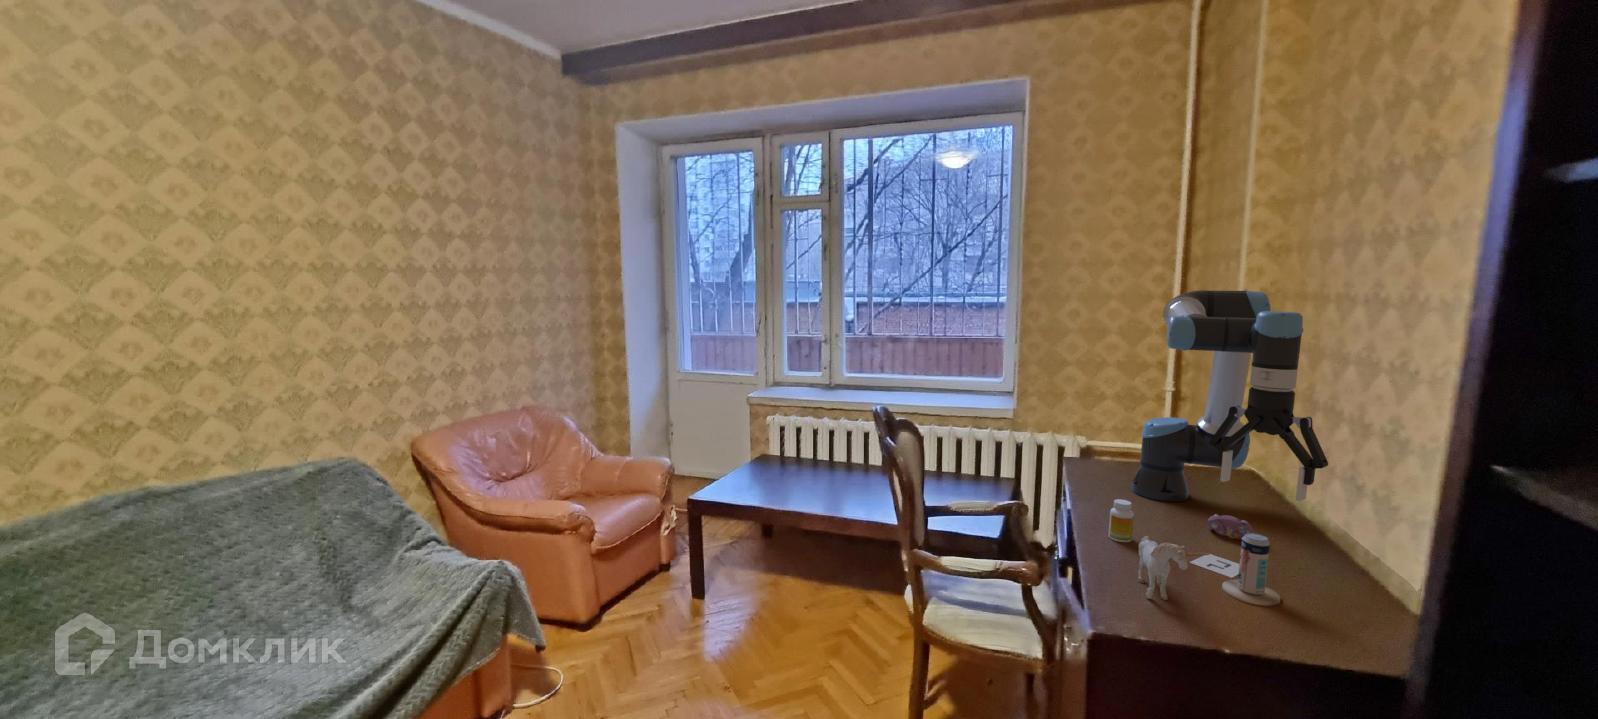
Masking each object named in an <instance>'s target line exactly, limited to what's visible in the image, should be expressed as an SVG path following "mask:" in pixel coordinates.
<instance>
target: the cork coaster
mask: <svg viewBox="0 0 1598 719" xmlns="http://www.w3.org/2000/svg"><path fill="white" fill-rule="evenodd" d="M1222 582H1223V583H1222V586H1221V588H1222V591H1223V592H1224V593H1225V594H1227V595H1228V596H1230V597H1231V598H1234V599H1235V600H1238V601H1241V602H1244V603H1247V604H1251V605H1255V606H1261V607H1273V606H1277V605H1279V604H1280V603H1281V596H1280V595H1279V594H1278V593H1277V591H1275V590H1273V589H1271V588H1270V587H1267V586H1265V593H1264V594H1260V595H1251V594H1248V593H1245V592H1243V591H1242V590H1241V589H1239V588H1238V586H1237V583H1238V579H1228V580H1225V581H1222Z"/></svg>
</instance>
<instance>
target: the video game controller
mask: <svg viewBox="0 0 1598 719" xmlns="http://www.w3.org/2000/svg"><path fill="white" fill-rule="evenodd" d="M1206 523H1207V528H1208V530H1209V531H1215V533H1216V534H1217V535H1219V536H1226V535H1227V533H1228V529H1229V530H1231V533H1230V537H1231V538H1233V539H1235V540H1240V539H1242V537H1244V535H1245V534H1246V533H1254V530H1253V527H1252V525H1251V523H1249V522H1248V521H1247V520H1245V519H1244V520H1243V519H1240V518H1238V517H1235V516H1233V515H1228V514H1227V515H1226V514H1225V515H1219V514H1217V513H1215V514H1214V515H1211V516H1210V517H1208V519H1207V522H1206Z"/></svg>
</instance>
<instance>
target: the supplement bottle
mask: <svg viewBox="0 0 1598 719" xmlns="http://www.w3.org/2000/svg"><path fill="white" fill-rule="evenodd" d="M1131 509H1132V502H1131V501H1129V500H1127V499H1119V498H1118V499H1114V500H1113V507H1112V508H1111V509H1110V512H1109V524H1108V537H1109V539H1110V540H1112V541H1115V542H1118V543H1130V542H1131V541H1132V540H1133V534H1134V532H1133V530H1134V518H1135V514H1134V511H1133V510H1131Z"/></svg>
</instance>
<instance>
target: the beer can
mask: <svg viewBox="0 0 1598 719" xmlns="http://www.w3.org/2000/svg"><path fill="white" fill-rule="evenodd" d="M1270 548H1271V543H1270V540H1269V538H1268V537H1267V536H1266V535H1262V534H1260V533H1255V532H1253V533H1246V534H1245V535H1244V536H1243V537H1241V547H1240V555H1239V563H1238V564H1239V573H1238V575H1237V580H1238V583H1237V586H1238V588H1239V589H1241V590H1242V591H1243V592H1245V593H1248V594H1251V595H1260V594H1264V593H1265V587H1266V585H1267V583H1266V582H1267V575H1268V566H1269V557H1270V556H1269V555H1270Z"/></svg>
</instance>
